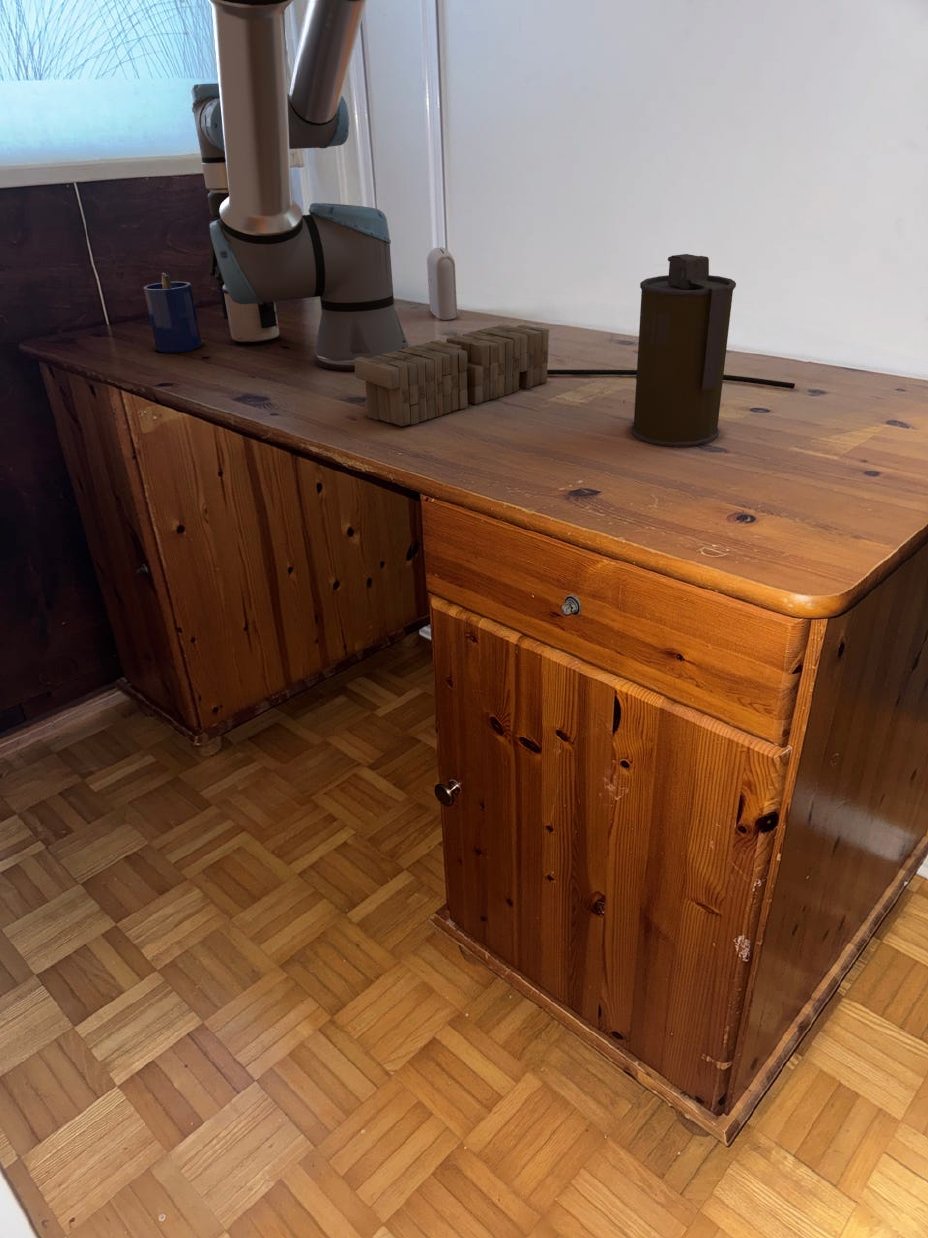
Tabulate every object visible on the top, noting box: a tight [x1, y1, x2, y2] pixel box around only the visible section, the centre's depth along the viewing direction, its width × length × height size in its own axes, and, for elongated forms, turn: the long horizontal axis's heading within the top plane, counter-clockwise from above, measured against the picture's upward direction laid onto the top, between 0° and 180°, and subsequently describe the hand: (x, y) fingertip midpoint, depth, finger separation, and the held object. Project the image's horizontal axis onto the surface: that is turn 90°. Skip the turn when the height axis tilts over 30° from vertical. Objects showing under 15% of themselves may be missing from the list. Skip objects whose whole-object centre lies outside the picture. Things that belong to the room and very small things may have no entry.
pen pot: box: [143, 281, 202, 354], centre depth 153 cm, size 8×8×10 cm
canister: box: [630, 253, 737, 448], centre depth 101 cm, size 11×10×20 cm
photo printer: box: [426, 246, 458, 321], centre depth 168 cm, size 10×4×12 cm, turn 13°
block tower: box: [354, 323, 550, 427], centre depth 119 cm, size 8×8×29 cm
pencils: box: [161, 272, 172, 289], centre depth 153 cm, size 2×3×12 cm
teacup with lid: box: [222, 284, 280, 343], centre depth 157 cm, size 12×9×12 cm
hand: (250, 322), depth 158 cm, fingers closed on teacup with lid, 12 cm apart
